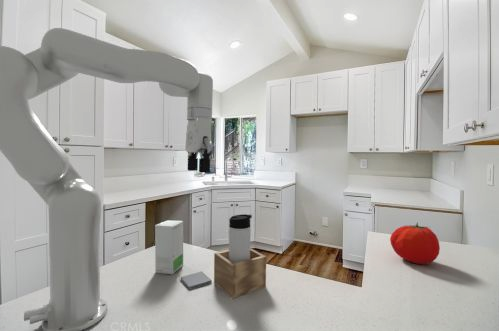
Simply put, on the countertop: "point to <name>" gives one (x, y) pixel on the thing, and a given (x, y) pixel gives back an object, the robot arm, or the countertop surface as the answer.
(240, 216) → the travel mug
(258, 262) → the open wooden box
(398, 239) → the tomato
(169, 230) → the skincare box
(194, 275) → the slate coaster
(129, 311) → the countertop surface
